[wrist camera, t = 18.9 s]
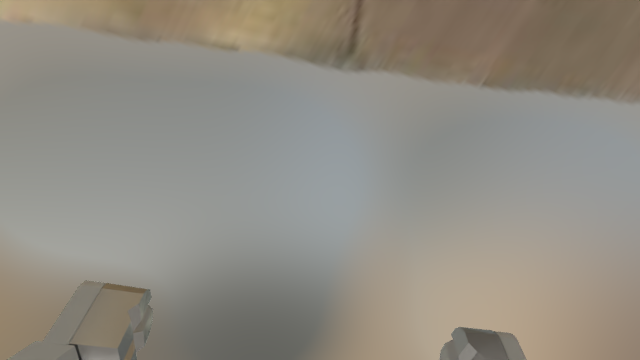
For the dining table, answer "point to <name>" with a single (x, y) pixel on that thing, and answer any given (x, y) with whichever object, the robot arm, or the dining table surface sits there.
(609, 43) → the dining table surface
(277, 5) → the dining table surface
